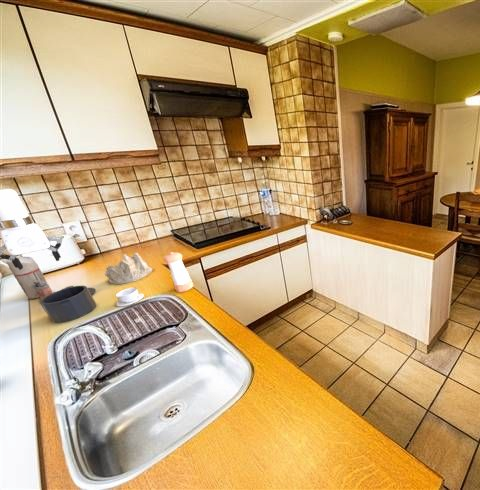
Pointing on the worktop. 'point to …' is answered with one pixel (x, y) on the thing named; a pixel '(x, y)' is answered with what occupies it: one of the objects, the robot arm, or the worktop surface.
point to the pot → (68, 304)
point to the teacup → (128, 297)
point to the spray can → (27, 276)
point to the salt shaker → (178, 272)
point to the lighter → (41, 289)
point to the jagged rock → (128, 270)
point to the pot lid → (88, 289)
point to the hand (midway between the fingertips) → (40, 264)
